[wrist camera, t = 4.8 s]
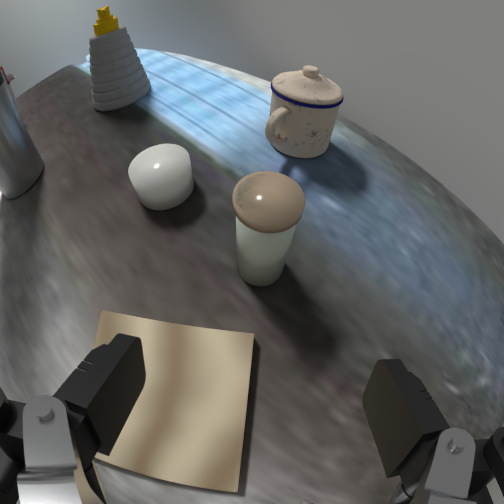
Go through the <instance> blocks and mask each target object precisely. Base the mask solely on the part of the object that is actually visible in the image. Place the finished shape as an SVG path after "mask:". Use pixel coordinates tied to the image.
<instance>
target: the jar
mask: <svg viewBox="0 0 504 504" xmlns="http://www.w3.org/2000/svg"><path fill="white" fill-rule="evenodd" d="M304 206H305V196H304V193H303V191H302V189H301V187H300V186H299V185H298V184H297V183H296V182H295V181H294V180H293V179H291V178H289V177H288V176H286V175H283V174H280V173H277V172H271V171H262V172H256V173H252V174H250V175H248V176H246V177H244V178H243V179H241V180H240V181H239V182H238V183H237V185H236V186H235V188H234V191H233V209H234V212H235V215H236V238H237V269H238V272H239V274H240V276H241V277H242V279H243V280H244V281H246V282H247V283H249V284H251V285H254V286H268V285H270V284H272V283H274V282H275V281H277V280H278V279H279V277H280V276H281V274H282V271H283V267H284V264H285V261H286V257H287V254H288V251H289V247H290V244H291V241H292V237H293V234H294V230H295V227H296V224H297V223H298V221H299V220H300V218H301V216H302V213H303V210H304Z"/></svg>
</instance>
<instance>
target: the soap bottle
mask: <svg viewBox="0 0 504 504" xmlns="http://www.w3.org/2000/svg"><path fill="white" fill-rule="evenodd" d="M97 12H98V17H99V19H97V20H96V22H97V23H96V24H94V25H93V26H94V31H95V35H93V36H92V37H91V38H90V64H91V65H90V72H91V74H90V78H91V81H92V82H91V89H92V91H91V93H92V98H93V99H92V104H93V106H94V108H95V109H96V110H98V111H103V112H104V111H112V110H116V109H119V108H123V107H126V106H128V105H130V104H132V103H135V102H137V101H138V100H140V99H141V98H143V97H144V96H145V95H146V94H147V93H148V92H149V91H150V81H149V79H148V78H147V75H146V72H145V71H144V68H143V66H142V64H140V63H141V61H140V59H139V57H138V56H137V52H136V50H135V49H134V46H133V43H132V42H131V40H130V37H129V35H128V34H127V30H126V27H125V26H118V20H117V17H113V14H111V15H110V12H109V6H107V7H103V8H100V9H98V10H97Z"/></svg>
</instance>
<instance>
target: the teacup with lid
mask: <svg viewBox="0 0 504 504" xmlns="http://www.w3.org/2000/svg"><path fill="white" fill-rule="evenodd" d="M271 89H272V99H271V109H270V117H269V119H268V121H267V123H266V128H265V134H266V138H267V139H268V141H270V143H271V144H272V145H273V146H274V147H275V148H276V149H277V150H279V151H280V152H282V153H284V154H286V155H289V156H293V157H297V158H313V157H317V156H319V155H321V154H323V153H324V152H325V151H326V150H327V148H328V145H329V142H330V138H331V135H332V131H333V128H334V124H335V120H336V117H337V113H338V110H339V106H340V104H341V103H342V102H343V93H342V90H341V89H340V87H339V86H338V85H337V84H335V83H334V82H333V81H331V80H329V79H327V78H325V77H323V76H322V75H320V74H319V70H318V68H316V67H314V66H304V67H303V69H302V70H300V71H294V72H293V71H292V72H285V73H281V74H279V75H277V76H276V77H275V78H274V79H273V81H272V83H271Z"/></svg>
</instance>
